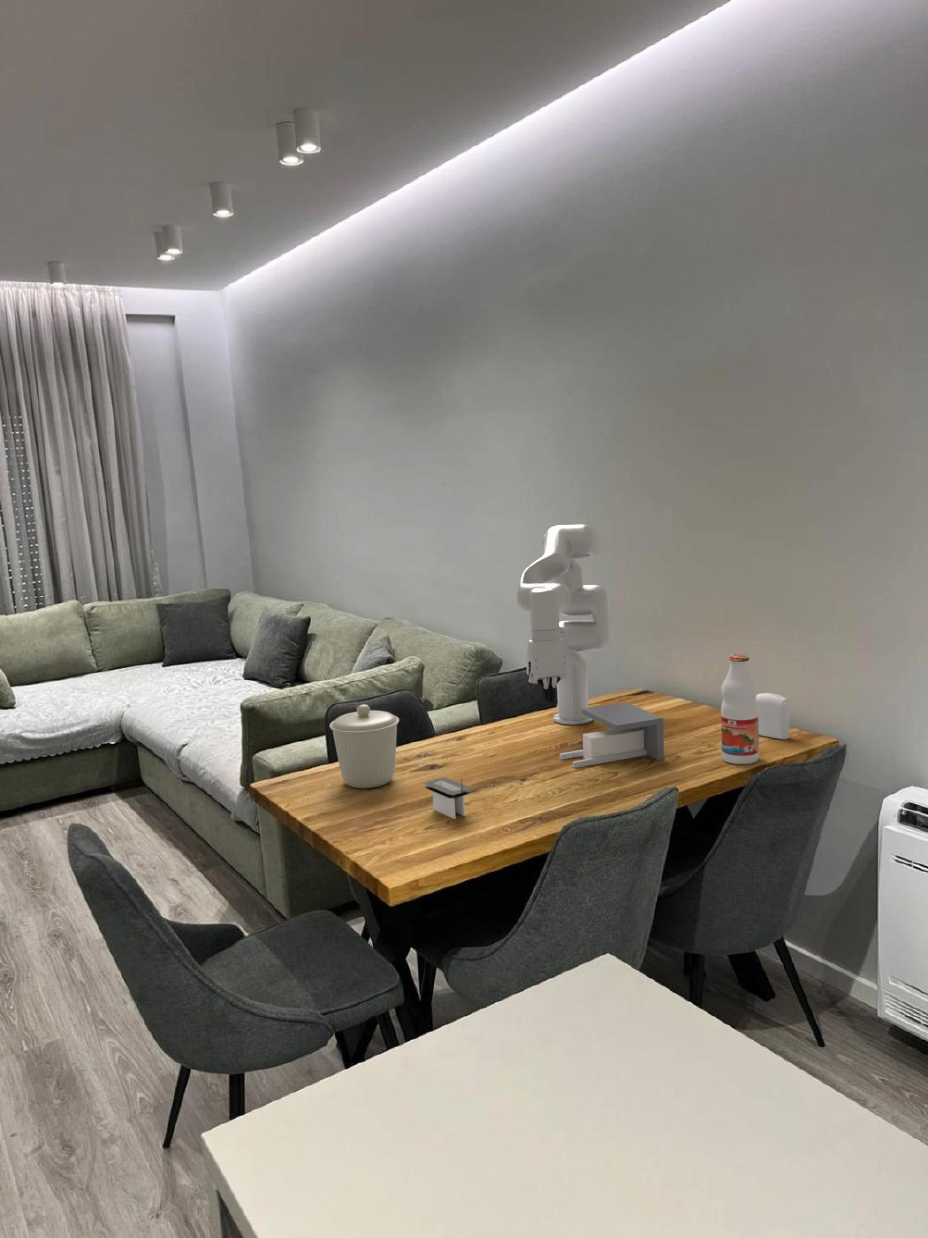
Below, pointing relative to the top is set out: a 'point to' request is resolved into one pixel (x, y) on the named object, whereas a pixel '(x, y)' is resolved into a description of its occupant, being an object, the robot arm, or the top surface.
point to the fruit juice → (739, 713)
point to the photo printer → (773, 715)
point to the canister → (366, 746)
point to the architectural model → (448, 796)
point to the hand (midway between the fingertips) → (549, 701)
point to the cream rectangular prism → (612, 742)
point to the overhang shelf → (622, 719)
